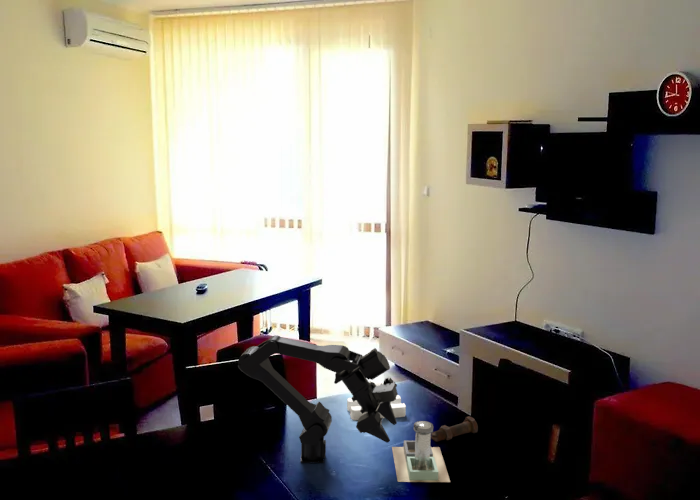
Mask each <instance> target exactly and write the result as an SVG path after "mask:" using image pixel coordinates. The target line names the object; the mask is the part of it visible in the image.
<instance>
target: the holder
mask: <svg viewBox="0 0 700 500" xmlns="http://www.w3.org/2000/svg"><path fill="white" fill-rule="evenodd" d="M402 447H403V449H404V454H405V459H406V462H407V457H415V453H410V452H409V451H408V450H415V440H405V439H404V440H403V445H402ZM431 447H432V446H431V445H430V457H433V453H432V449H431Z"/></svg>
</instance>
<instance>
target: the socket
mask: <svg viewBox="0 0 700 500" xmlns="http://www.w3.org/2000/svg"><path fill="white" fill-rule="evenodd" d="M406 465H407V470H408V475H409V480H438V469H437V465H436V462H435V458H434V457H430V462H429V467H431V468H432V470H412V466H414V465H415V457H407V462H406Z"/></svg>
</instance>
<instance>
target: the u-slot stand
mask: <svg viewBox="0 0 700 500" xmlns="http://www.w3.org/2000/svg"><path fill="white" fill-rule="evenodd" d="M368 382H369V383H370V382H373V383H375V385H376V386H379V385H381V384H383V383H384V381H382V380H372V381H371V380H370V381H368ZM346 400H347V403H346V407H347V408H346V409H347V411H348V412H349V413H350V419H351V420H353V421H358V420H359V418H360V416H362V415H364V414H366V413H368V412H365V413H363V414H362V413H361V412H360V410H361V406H360V405H359V404H358V402H357V401H354V402H353V400H352V397H348V398H347V399H346ZM391 407H392V410H393V413H394V416H395V418H404V417H405V416H406V413H407V411H406V409H407V406H406V404H405V402H403V403H402V398H401V395H399V394H398V395H397V396H396V400H394V401H392V402H391ZM378 413H379V412H378ZM379 414H380V413H379ZM380 417H381V418H382V419H385V418H384V417H383V416H382V415H381V414H380Z"/></svg>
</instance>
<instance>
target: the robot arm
mask: <svg viewBox="0 0 700 500" xmlns="http://www.w3.org/2000/svg"><path fill="white" fill-rule="evenodd" d="M274 354H277V355H282V356H286V357H290V358H295V359H300V360H304V361H308V362H313V363H315V364H318V365H320V366H321V367H322V368H324V369H326V370H328V371H331V372H334V373H335V374H334V375H335V377H334V382H333V383H334V384H335V385H337V384H339V383H340V382H342V383H343V384H344V385H345V387H346V388H347V389H348V391H349V393H350V394H351V398H352V400H353V402H354V401H357V402H358V404H359V405H360V406H361V410H360V412H361V413H362V414H363V413H365V412H368V413H366V414H364V415H362V416H360V418H359V420H357V422H356V425H355V427H356V429H357V431H358V432H359V433H360V434H362V433H363V434H365V433H367V434H369V435H371V436H373V437H375V438H377V439H379V440H381V441H383V442H385V443H387V444H388V443H389V442H390V440H391V439H390V437H389V434H387V432H386V430H385V428H384V426H383V424H382V423H383V419H385V420H387V421H388V423H391V424H392V425H393V426H396V425H397V424H398V422H397V418H396V417H395V416H394V413H393V410H392V407H391V402H392V401H394V400H396V396H397V395H399V393H398V389H397V387H398V384H397V383H396V382H395V381H394V380H393V379H392V378H391V377H385V378H384V380H383V384H381V385H379V386H376V385H375V383H373V382H370V381H371V380H372V381H374V380H375V378H377V377H379V376H380V375H383V374H384V373H386V372H388V371H389V370H390V368H391V367H390V366H391V365H390V363H389V361H388V359H387V357H386V356H385V355H384V354H382V352H380V351H379V350H378V349H377V348H375V347H374V348H373V349H371V350H370V351H369V352H368V353H366V354H365V355H363V354H360V353H358V352H355V351H353V350H350V349H349V348H348V347H347V346H346V345H343V344H342V345H341V344H340V345H339V344H326V345H318V344H313V343H308V342H304V341H300V340H295V339H290V338H286V337H281V336H280V335H272V336H271V337H270V338H269V339H267V340H265V341H263V342H262V343H260V344H258V345H256V346H255V345H253V346H249V347H248V348H246V350H244V352H243V353H242V354H241V355H240V356H239V358H238V361H237V364H238V365H237V367H238V369H239V370H240V371H241V372H243V373H244V374H245V375H246V376H248V377H250V378H251V379H254V380H258V381H260V382H261V383H263V384H264V385H265V386H266V387H267V388H268V389H269V390H270V391H272V393H274V395H275V396H277V397H278V398H279V399H280V400H281V401H282V402H283V403H284V404H285V405H287V407H288V408H289V409H290V410H292V411H293V412H294V414H296V415H297V416H298V418H299V421H300V422H301V426H302V427H303V429H302V431H301V433H300V435H299V437H298V438H299V441H300V443H301V445H300V446H301V453H300V463H301V464H304V463H305V464H323V463H324V462H325V458H326V457H327V455H326V453H327V446H326V445H327V444H326V443H327V441H326V439H325V436H327V434H328V431H329V429H330V427H331V424H332V422H333V420H332V419H333V418H332V417H333V416H332V415H331V412H330V409H328V408H326V407H325V406H324V405H323V403H322V402H321V401H317V403H316V404H315V403H312V402H310V401H309V400H308V399H306V398H305V397H304V396H303V394H302V393H300V392H299V391H298V390H297V389H296V388H295V387H294V386H293V385H292V384H291V383H289V382H288V381H287V380H286V379H285V378H284V377H283V376H282V375H281V374H280V373H279V372H278V371H277V370H276V369H275V368H274V367H273V365H272V363H271V361H270V359H269V358H270V357H272V356H273V355H274ZM369 380H370V381H369ZM369 382H370V383H369ZM378 412H379V413H380V414H381V415H382V416H383V417H384V418H381V417H380V414H379V413H378Z"/></svg>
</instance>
